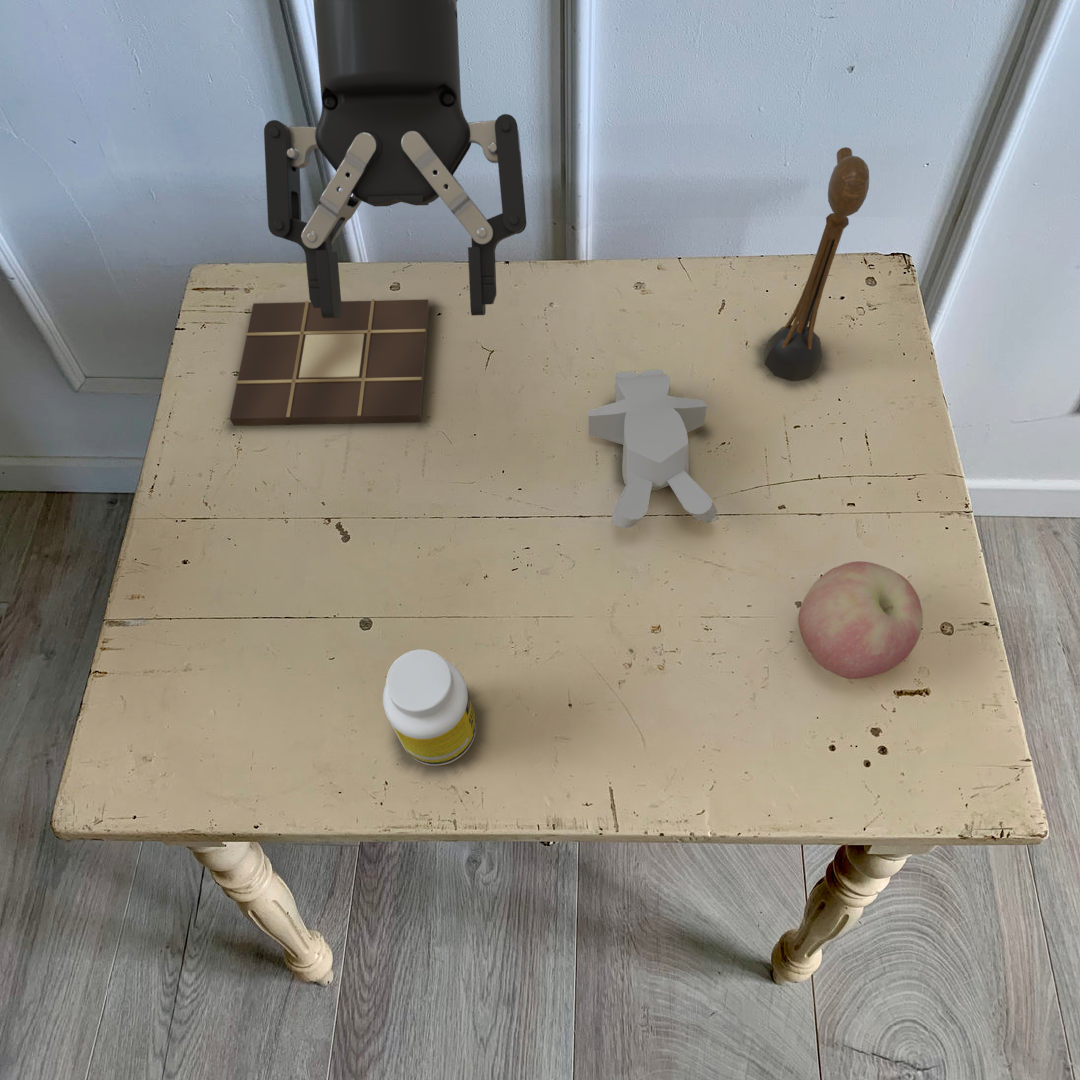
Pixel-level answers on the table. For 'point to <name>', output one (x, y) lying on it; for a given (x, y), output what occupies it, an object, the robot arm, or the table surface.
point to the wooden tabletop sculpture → (818, 275)
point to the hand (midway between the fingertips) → (405, 316)
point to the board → (333, 364)
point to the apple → (860, 620)
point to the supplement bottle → (429, 707)
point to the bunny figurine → (651, 444)
